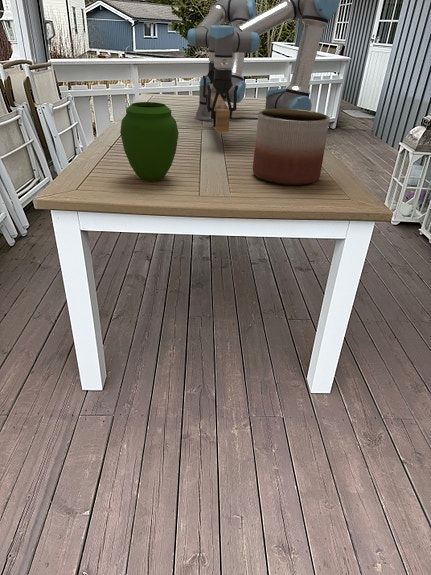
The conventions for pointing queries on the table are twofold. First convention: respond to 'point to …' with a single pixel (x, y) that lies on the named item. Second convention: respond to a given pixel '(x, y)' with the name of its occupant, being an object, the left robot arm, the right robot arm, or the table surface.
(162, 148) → the vase
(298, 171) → the planter
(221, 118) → the beam
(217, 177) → the table surface
